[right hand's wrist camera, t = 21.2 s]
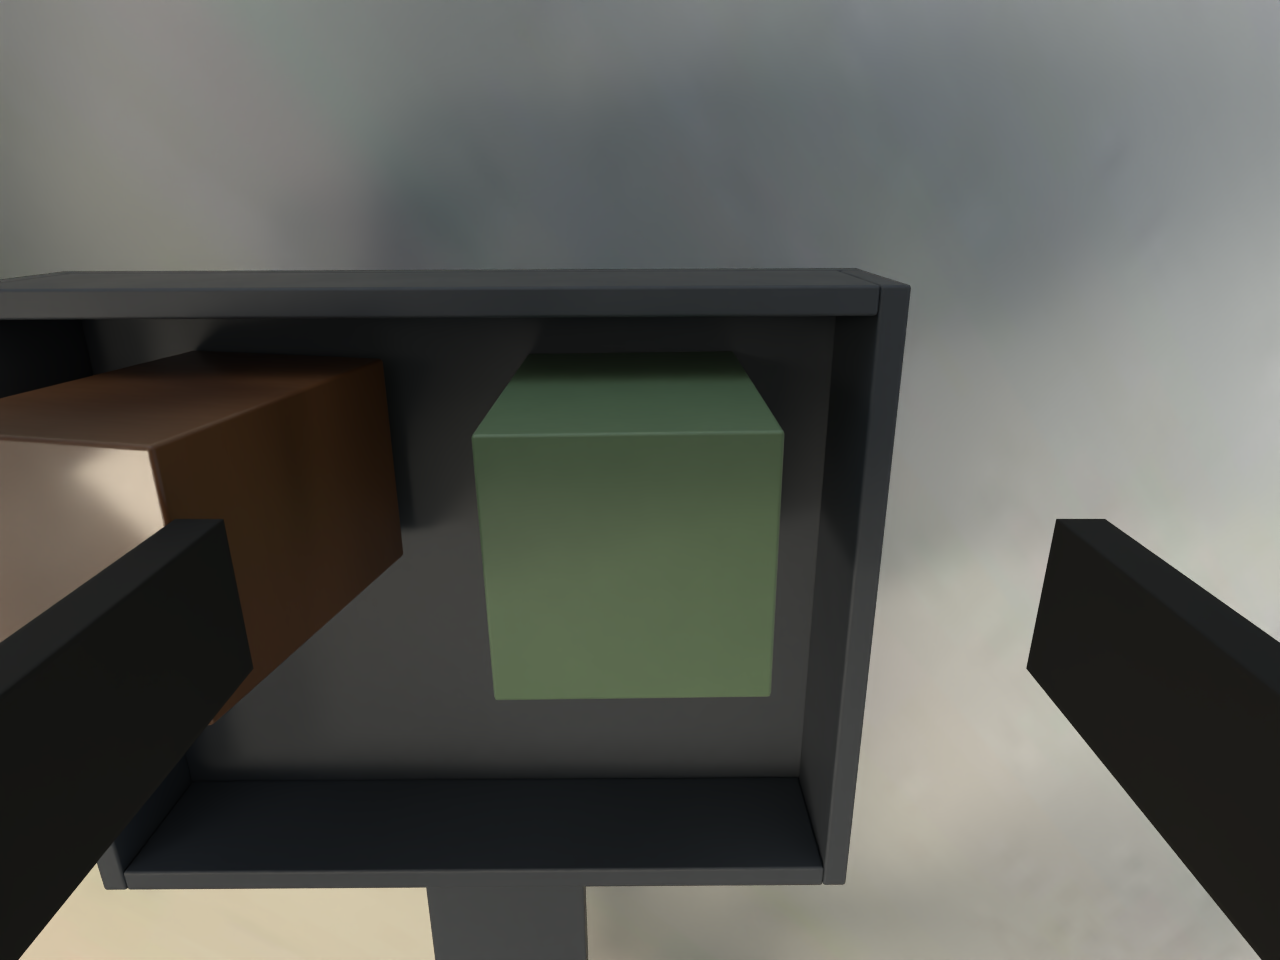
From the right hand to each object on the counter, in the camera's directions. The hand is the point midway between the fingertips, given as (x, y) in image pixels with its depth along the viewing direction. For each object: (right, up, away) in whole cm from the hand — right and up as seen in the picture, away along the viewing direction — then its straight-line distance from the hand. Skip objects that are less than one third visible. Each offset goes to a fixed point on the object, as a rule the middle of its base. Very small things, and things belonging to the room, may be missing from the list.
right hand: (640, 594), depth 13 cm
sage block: (0, +3, +7) cm, 8 cm away
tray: (-4, -9, +12) cm, 16 cm away
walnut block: (-8, +2, +7) cm, 11 cm away
